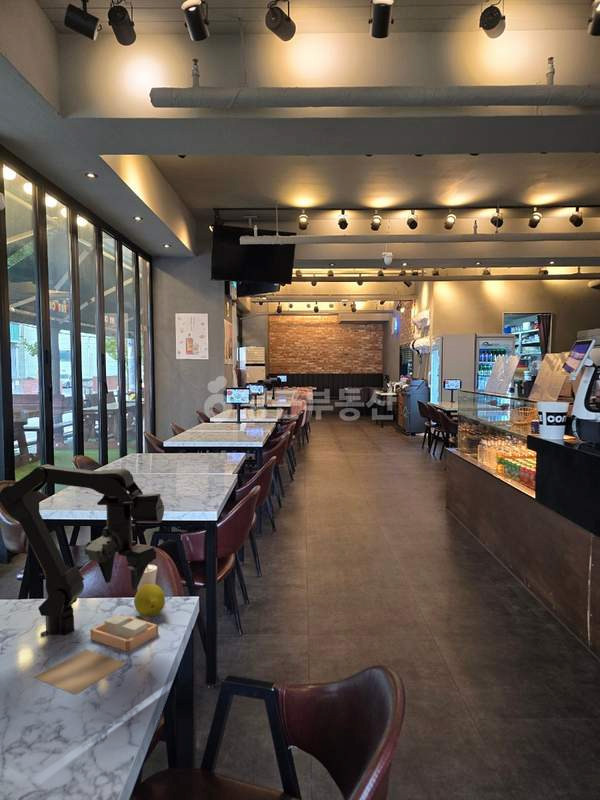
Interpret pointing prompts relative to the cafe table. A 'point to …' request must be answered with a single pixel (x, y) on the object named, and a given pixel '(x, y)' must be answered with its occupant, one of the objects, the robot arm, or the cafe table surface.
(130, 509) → the robot arm
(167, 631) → the cafe table surface
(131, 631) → the cream cube
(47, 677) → the board
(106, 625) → the stone
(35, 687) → the cafe table surface
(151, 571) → the smoothie
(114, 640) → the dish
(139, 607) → the lemon
